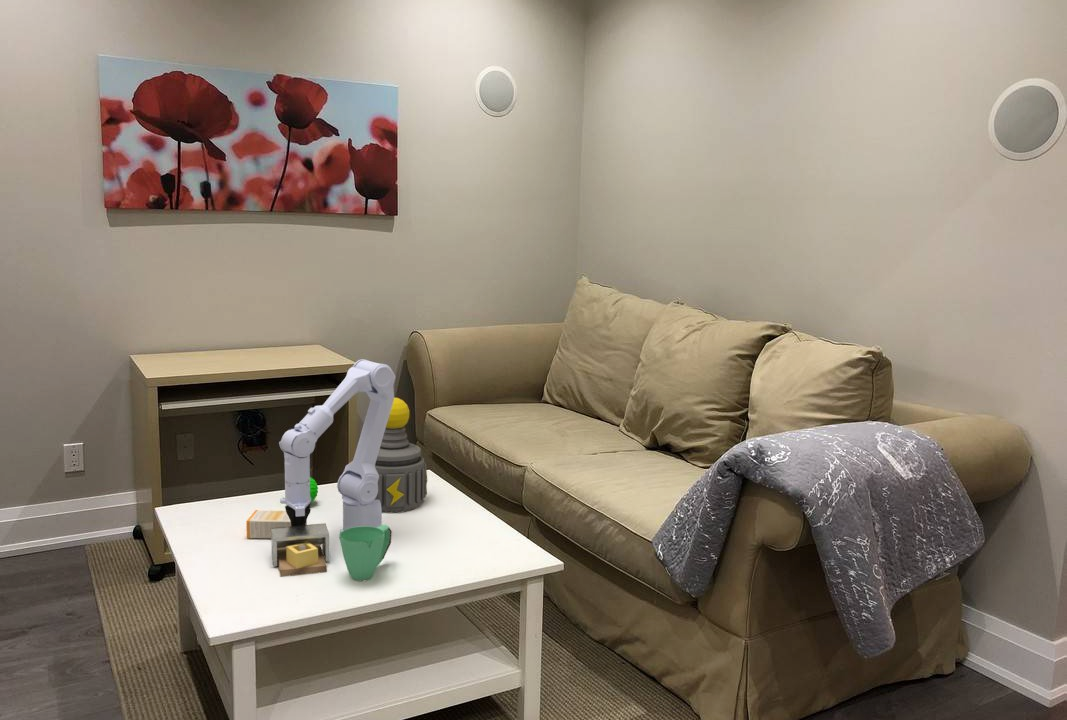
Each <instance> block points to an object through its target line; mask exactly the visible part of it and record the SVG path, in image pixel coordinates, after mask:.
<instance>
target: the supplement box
mask: <svg viewBox="0 0 1067 720" xmlns="http://www.w3.org/2000/svg"><path fill="white" fill-rule="evenodd" d="M305 525H308V519H307V520H306V524H305ZM287 526H291V521H290V519H289V516H288V515H287V513H286V510H275V509H273V510H270V509H269V510H266V509H255V510H254V512H253V513H251V515H250V517H248V519H246V525H245V527H246V538H247V539H271V528H275V527H287Z"/></svg>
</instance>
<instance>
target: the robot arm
mask: <svg viewBox="0 0 1067 720" xmlns="http://www.w3.org/2000/svg"><path fill="white" fill-rule="evenodd" d="M395 381H396V374H395V373H394V371H393V370H392V368H391V366H389V364H385V363H378V362H374V361H370V360H368V359H365V358H362V359H358V360H357V361H355V363H353V365H352V366H351V367H350V368H349V369H348V370H347V373H346V376H345V378H344V379H343V380H342V381H341V383H339V385H338V386H337V387H336V389H334V391H333V392H332V393H331V394H330V396H329V397H328V398H327V399H326V401H325V402H324V403H323V404H322V405H321V404H320V405H314V407H310V408H309V409H308V410H307V413H306V415H305V416H304V417H303V418H302V419H301V420H300V421H299V423H296V424H295V425H294V428H290V429H288V430H287V431H285V432H284V434H283V435H282V437H281V439H280V441H279V442H278V445H279V447H280V450H281V451H282V452H283V457H284V498H280V499H279V503H280V505H282V504H285V506H284V508H285V511H286V513H287V515H288V516H289V519H290V521H291V526H299V525H305V524H306V520H307V521H308V517H309V515H310V514H311V511H312V509H311V505H310V504H311V503H312V502H311V497H310V477H311V474H310V473H311V465H310V464H311V458H310V457H311V456H310V455H311V454H313V452H314V450H315V448H316V444H317V442H318V439H319V438H320V437H321V436H322V434H324V433H325V432H326V430H328V428H329V427H330V426H331V425H332V424H333V422H334V415H335V414H336V413H337V412H338V411H339V410H340V409H341V408H342V407H343V406H344V405H345V404H347V402H349V400H351V399H352V397H354V396H355V395H356V394H357V393H366V395H367V396H368V398H369V405H368V408H367V412H366V414H365V418H364V422H363V426H362V427H361V428H362V429H361V432H360V435H359V436H360V437H359V440H358V443H357V445H356V450H355V453H354V457H353V459H352V461H351V462H349V463H348V464H346V465H345V466H344V467H345V468H344V469H343V472H342V474H341V475H340V476H339V477H338V480H337V484H336V485H337V486H336V488H337V491H338V493H339V494H340V495H341V500H342V528H339V534H340V533H341V532H342V531H344V530H346V529H348V528H352V527H359V526H370V527H376V528H377V527H379V526H381V525H383V524H382V523H383V522H382V519H383V518H382V513H383V512H382V510H381V503H380V500H374V499H375V498H376V496H377V493H378V479H379V475H378V473H377V470H376V468H375V463H376V460H377V456H378V453H379V449H380V446H381V442H382V439H383V435H384V432H385V428H386V425H387V421H388V418H389V415H390V411H391V408H392V404H393V401H394V398H395V390H394V384H395ZM310 502H311V503H310ZM309 503H310V504H309Z"/></svg>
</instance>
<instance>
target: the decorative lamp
mask: <svg viewBox="0 0 1067 720" xmlns="http://www.w3.org/2000/svg"><path fill="white" fill-rule="evenodd" d="M409 420H410V409H409V406H408V404H407V403H406V402H405V401H404V400H403V399H401V398H399V397H394V401H393V404H392V408H391V411H390V415H389V418H388V421H387V425H386V428H385V432H384V435H383V439H382V442H381V446H380V449H379V453H378V456H377V460H376V463H375V468H376V470H377V473H378V475H379V479H378V493H377V496H376V498H375V499H374V500H380V503H381V510H382V513H401V512H402V511H403V512H407V511H412V509H413V510H415V509H417V508H419V507H420V506H422V505H423V503H424V501H425V500H424V499H425V498H426V496H427V494H428V492H427V491H428V488H427V487H428V485H427V483H428V473H427V464H426V462H425V458H424V457H423V456H422V448H421V447H420V446H418V445H416V444H414V443H411V442H409V439H407V438H408V433H407V432H406V425H407V424H408V422H409Z"/></svg>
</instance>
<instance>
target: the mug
mask: <svg viewBox="0 0 1067 720" xmlns="http://www.w3.org/2000/svg"><path fill="white" fill-rule="evenodd" d="M392 532H393V531H392V529H391V528H390V526H389V525H387V524H382V525H381V526H379V527H377V528H376V527H370V526H359V527H352V528H348V529H346V530H344V531H342V532H341V533H340V532H339V535H338V536H339V538H338V539H339V542H340V546H341V547H340V548H341V551H342V555H343V560H344V563H345V566H346V568H347V571H348V573H349V576H350V579H352V580H353V579H354V580H353V581H356V580H361V581H360V582H364V581H363V580H366V581H370V580H371V579H372V577H373V578H374V575H375V573H376V570H377V568H378V566H379V564H381V562H382V561H383V560H384V559H385V556H386V554H387V552H388V551H389V548H390V545H391V543H392Z"/></svg>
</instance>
